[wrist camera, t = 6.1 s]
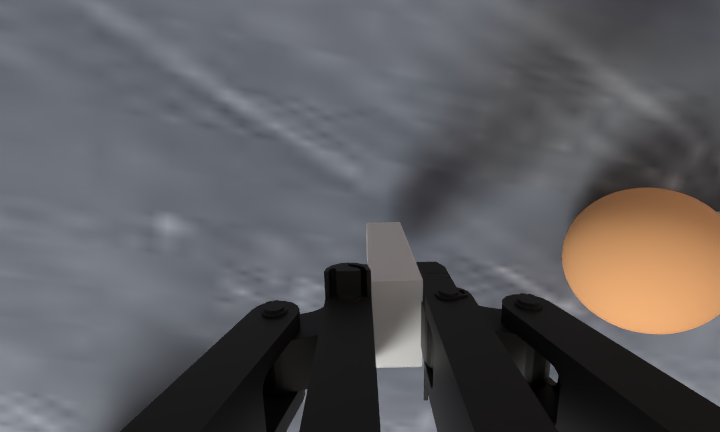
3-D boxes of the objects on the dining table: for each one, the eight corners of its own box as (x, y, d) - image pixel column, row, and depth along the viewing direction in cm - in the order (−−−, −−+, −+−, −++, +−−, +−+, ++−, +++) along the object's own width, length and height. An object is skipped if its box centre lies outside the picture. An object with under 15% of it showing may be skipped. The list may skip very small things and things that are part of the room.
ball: (712, 177, 17) (560, 178, 19) (799, 204, 12) (574, 200, 14) (694, 303, 18) (554, 290, 21) (765, 379, 13) (565, 350, 15)
